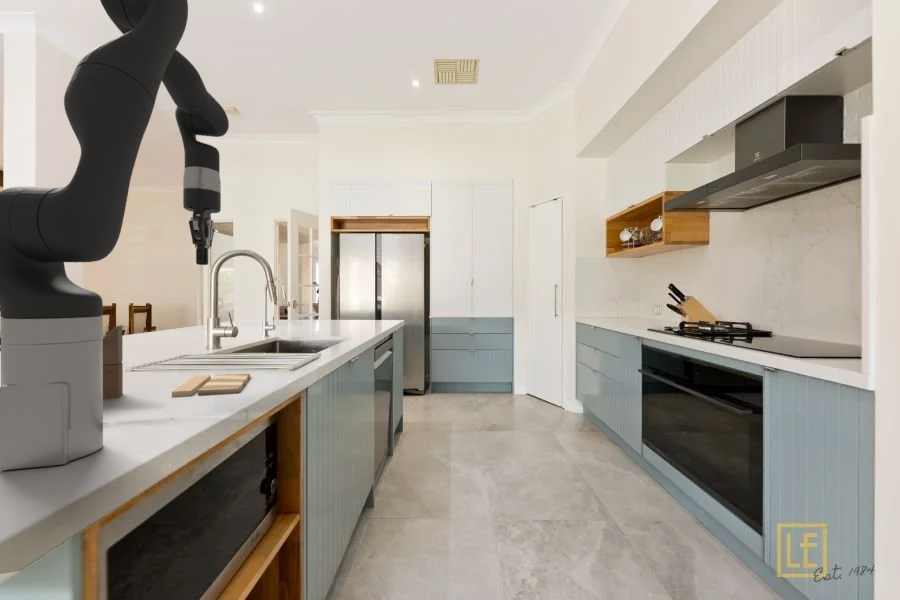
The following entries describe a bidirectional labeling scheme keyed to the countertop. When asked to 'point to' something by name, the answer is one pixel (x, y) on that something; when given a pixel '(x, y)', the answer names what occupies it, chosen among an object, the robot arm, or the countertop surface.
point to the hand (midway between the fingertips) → (202, 264)
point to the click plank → (224, 384)
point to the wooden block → (112, 364)
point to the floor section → (191, 386)
